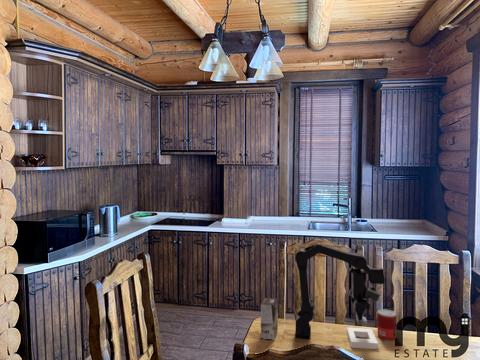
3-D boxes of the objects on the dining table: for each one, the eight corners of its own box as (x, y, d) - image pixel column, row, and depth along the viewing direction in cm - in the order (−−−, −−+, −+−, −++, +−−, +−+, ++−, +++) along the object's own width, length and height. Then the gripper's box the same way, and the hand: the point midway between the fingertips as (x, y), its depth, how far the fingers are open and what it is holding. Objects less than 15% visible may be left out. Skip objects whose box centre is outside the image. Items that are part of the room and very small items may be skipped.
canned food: (398, 341, 156) (398, 316, 156) (379, 339, 157) (379, 315, 157) (394, 333, 163) (394, 309, 163) (376, 331, 165) (376, 308, 165)
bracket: (357, 324, 154) (357, 308, 154) (355, 319, 159) (355, 304, 159) (367, 324, 153) (367, 309, 153) (365, 320, 158) (365, 304, 158)
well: (351, 347, 150) (351, 341, 150) (346, 332, 164) (346, 327, 164) (378, 349, 149) (378, 343, 148) (371, 334, 162) (371, 328, 162)
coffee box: (274, 341, 157) (274, 305, 156) (260, 339, 159) (260, 304, 158) (278, 332, 166) (277, 298, 165) (264, 330, 167) (264, 297, 167)
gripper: (383, 290, 146) (383, 328, 146) (373, 277, 164) (373, 310, 164) (355, 289, 147) (355, 326, 148) (349, 276, 166) (348, 309, 166)
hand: (359, 317), depth 156 cm, fingers closed on bracket, 5 cm apart
